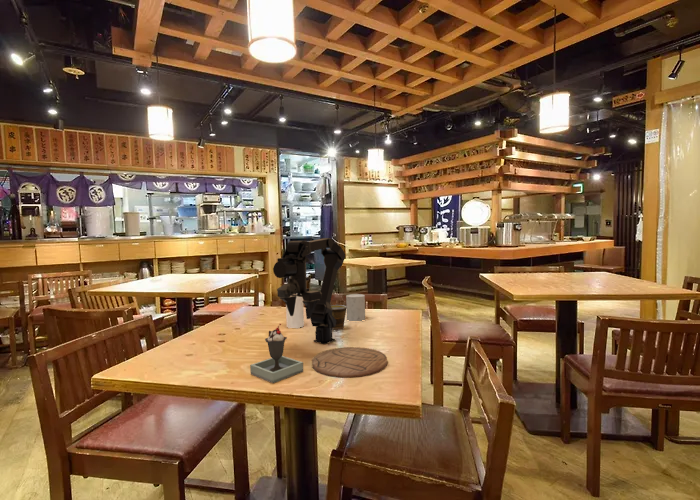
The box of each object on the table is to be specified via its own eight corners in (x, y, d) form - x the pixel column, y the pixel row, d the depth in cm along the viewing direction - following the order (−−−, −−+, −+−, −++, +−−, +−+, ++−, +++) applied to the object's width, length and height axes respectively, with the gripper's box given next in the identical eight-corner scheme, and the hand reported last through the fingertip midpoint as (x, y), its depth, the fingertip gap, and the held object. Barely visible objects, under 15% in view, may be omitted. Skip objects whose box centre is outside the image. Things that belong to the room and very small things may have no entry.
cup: (302, 328, 168) (301, 294, 168) (285, 328, 168) (283, 294, 168) (305, 324, 177) (304, 291, 176) (288, 324, 177) (287, 292, 176)
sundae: (287, 373, 111) (285, 325, 110) (265, 375, 110) (263, 326, 109) (288, 365, 117) (286, 320, 117) (267, 367, 117) (265, 321, 116)
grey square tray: (280, 363, 122) (280, 355, 122) (303, 371, 114) (303, 362, 114) (250, 374, 113) (250, 364, 113) (273, 383, 105) (272, 373, 105)
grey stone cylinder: (345, 321, 179) (344, 297, 178) (348, 317, 188) (347, 294, 188) (364, 322, 177) (363, 297, 177) (366, 317, 187) (366, 294, 186)
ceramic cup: (334, 324, 173) (333, 304, 173) (351, 327, 167) (350, 306, 167) (316, 331, 163) (315, 309, 162) (333, 334, 157) (333, 311, 157)
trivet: (366, 384, 104) (366, 378, 104) (296, 370, 116) (296, 365, 116) (398, 358, 125) (398, 352, 125) (337, 348, 138) (337, 343, 138)
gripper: (264, 276, 132) (266, 318, 133) (298, 278, 120) (299, 325, 121) (288, 273, 141) (290, 312, 141) (322, 275, 128) (323, 319, 129)
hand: (299, 317), depth 133 cm, fingers open, 9 cm apart
